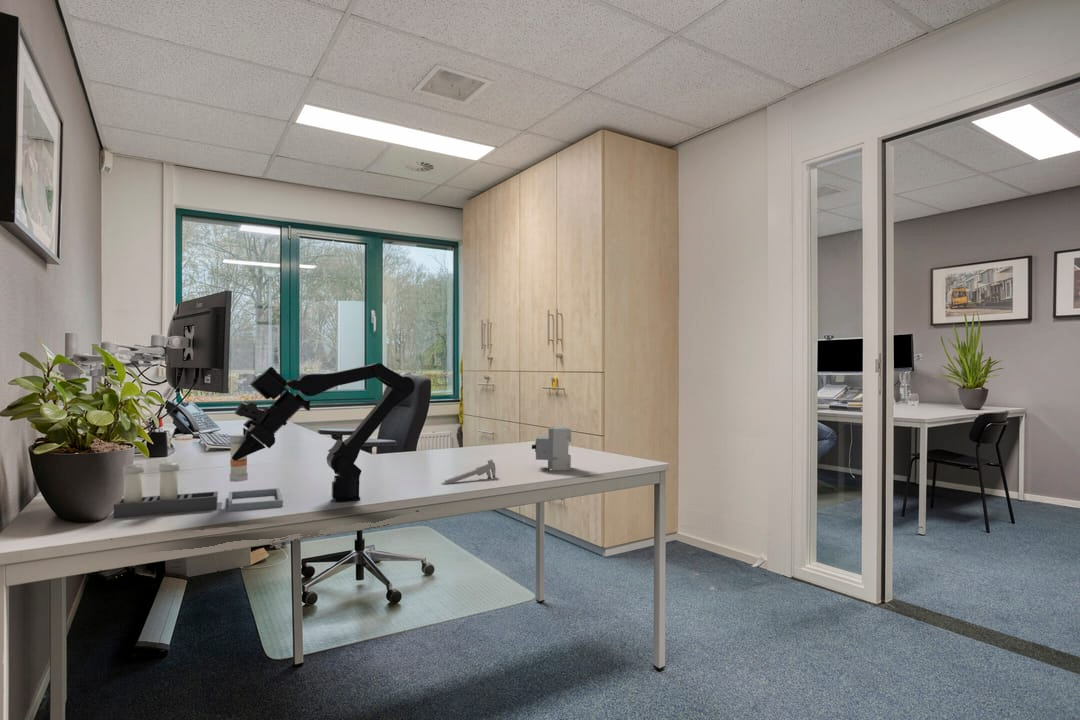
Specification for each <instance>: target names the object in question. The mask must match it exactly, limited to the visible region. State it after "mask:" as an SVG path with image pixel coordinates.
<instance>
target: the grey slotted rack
mask: <svg viewBox="0 0 1080 720" xmlns="http://www.w3.org/2000/svg"><path fill="white" fill-rule="evenodd" d="M218 494H219V491H204V492H195V493H194V492H191V493H179V494H178V499H171V500H160V495H152V496H149V495H148V496H142V502H132V503H123V498H118V499H117V500H116V501H115V502H114V504H113V512H112V513H111V514H110V516H109V517H107V519H106V520H107V521H108V520H118V519H131V518H142V517H154V516H164V515H165V516H166V515H176V514H177V515H178V514H188V513H201V512H210V511H211V512H212V511H222V507H223V501H221V502H218V499H219V498H218V497H219V495H218Z"/></svg>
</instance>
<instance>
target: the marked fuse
mask: <svg viewBox="0 0 1080 720" xmlns="http://www.w3.org/2000/svg"><path fill="white" fill-rule="evenodd" d="M244 441H245V435H243V434H237V435H236V434H235V435H230V436H229V444H230V464H229V465H230V474H229V482H231V483H232V482H234V483H235V482H236V483H237V482H244V481H245V482H246V481H248V480H249V478H248V477H249V476H248V475H249V474H248V471H247V469H248V455H247V456H245V457H243V458H240V459H238V460H236V461H234V460H233V459H232V456H233V455H234V454H235V452H236V451H237V450H238V448H239V447H240V446H241V445H242V443H243V442H244Z"/></svg>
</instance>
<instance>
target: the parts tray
mask: <svg viewBox="0 0 1080 720" xmlns="http://www.w3.org/2000/svg"><path fill="white" fill-rule="evenodd" d="M262 496H263V497H265V496H276V499H271V500H259V501H248V502H236V503H233V499H235V498H237V499H238V498H250V497H251V498H252V497H262ZM283 499H284V498H283V496H282V492H281V489H280V487H275V488H274V487H273V488H263V489H260V488H259V489H248V490H236V491H234V490H233V491H229V492H228V497H227V511H228V512H233V511H244V510H245V511H246V510H256V509H257V510H258V509H267V508H277V507H279V508H280V507H284V500H283Z"/></svg>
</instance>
